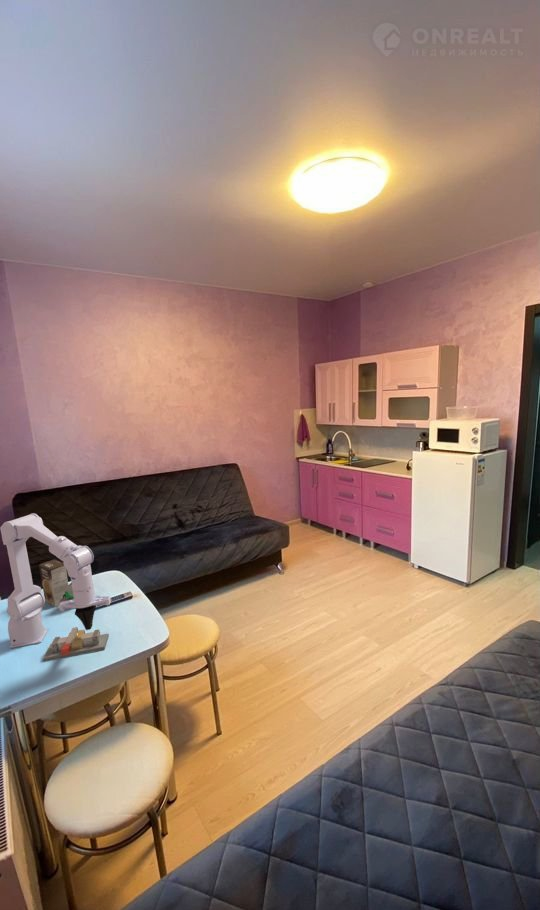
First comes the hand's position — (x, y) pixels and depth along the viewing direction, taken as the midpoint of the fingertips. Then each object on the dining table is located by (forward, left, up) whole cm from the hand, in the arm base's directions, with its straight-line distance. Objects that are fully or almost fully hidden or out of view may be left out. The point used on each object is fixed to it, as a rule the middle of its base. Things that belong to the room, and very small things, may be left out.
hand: (89, 627), depth 119 cm
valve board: (-6, +6, -10) cm, 13 cm away
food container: (-11, +37, -10) cm, 40 cm away
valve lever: (-6, +1, -5) cm, 8 cm away
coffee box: (-22, +42, -10) cm, 48 cm away
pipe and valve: (-6, +6, -10) cm, 13 cm away
